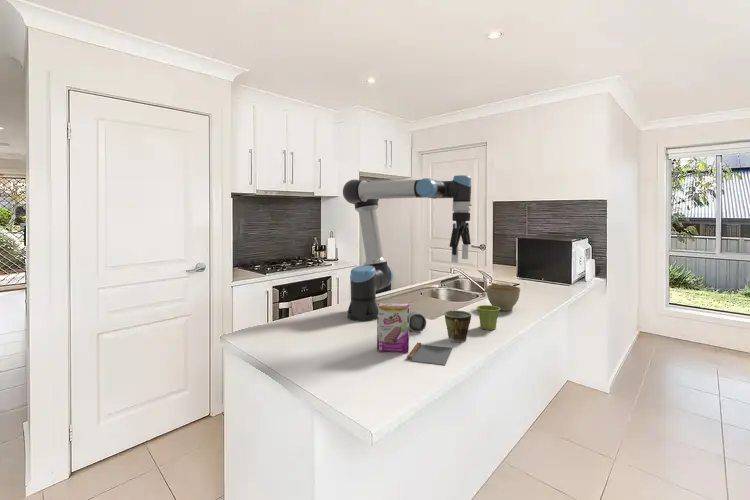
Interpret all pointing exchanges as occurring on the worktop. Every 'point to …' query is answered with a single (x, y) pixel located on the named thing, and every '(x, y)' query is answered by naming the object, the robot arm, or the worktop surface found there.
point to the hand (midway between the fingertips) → (460, 260)
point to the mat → (432, 354)
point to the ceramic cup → (457, 325)
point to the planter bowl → (503, 296)
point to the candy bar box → (392, 327)
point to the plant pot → (488, 316)
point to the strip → (414, 351)
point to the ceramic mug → (416, 321)
